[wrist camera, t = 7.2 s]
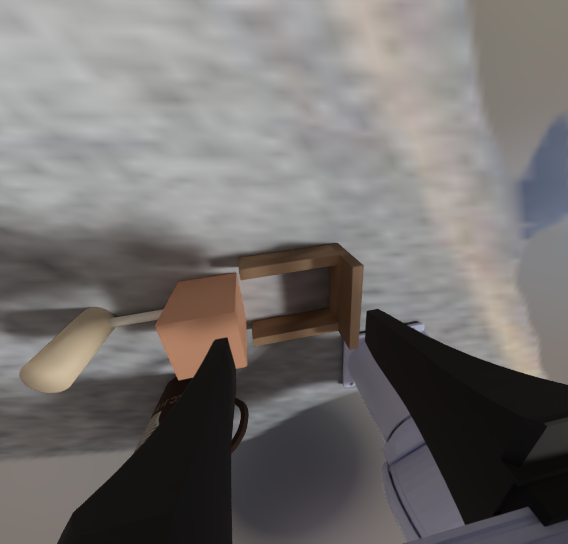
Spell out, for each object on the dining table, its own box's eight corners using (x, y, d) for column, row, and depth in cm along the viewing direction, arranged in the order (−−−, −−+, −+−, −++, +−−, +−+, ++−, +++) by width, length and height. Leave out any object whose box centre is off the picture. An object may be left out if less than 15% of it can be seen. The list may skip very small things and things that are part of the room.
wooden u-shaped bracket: (337, 243, 21) (363, 265, 16) (337, 313, 24) (358, 348, 20) (239, 257, 20) (238, 285, 15) (253, 328, 23) (255, 368, 19)
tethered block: (236, 272, 20) (234, 312, 15) (246, 318, 23) (247, 366, 17) (66, 299, 19) (-3, 353, 14) (94, 345, 21) (44, 407, 16)
